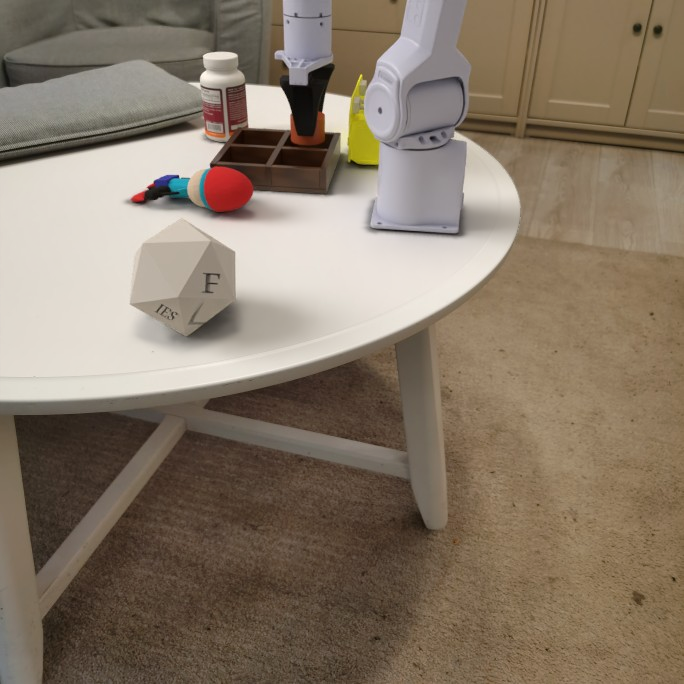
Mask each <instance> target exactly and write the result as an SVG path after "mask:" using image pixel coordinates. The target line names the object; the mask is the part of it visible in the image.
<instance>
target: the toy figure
mask: <svg viewBox="0 0 684 684" xmlns="http://www.w3.org/2000/svg"><path fill="white" fill-rule="evenodd" d="M146 189H147V190H143V191H141V192H139V193H136V194H134V195H133V196H131V198H130V201H131V202H135V203H138V202H143V201H145V200H147V201H157V200H159V199H160V198H161V199H162V198H164V197H169V198H176V199H177V198H181V199H184V198H185V199H190V201H191V202H192V203H193V204H195V205H196V206H198V207H200V208H206V209H207V210H208V209H209V210H210V211H213V212H217V213H219V212H220V213H224V212H225V213H226V212H230V211H234V210H237V209H240V208H242V207H244V206H246V204H248V203H249V201H250V200H251V199H252V197H253V194H254V190H253V185H252V183H251V181H250V180H249V179H248V178H247V177H246V176H245V175H244V174H242V173H241V172H239V171H237V170H234V169H231V168H227V167H213V168H210V167H209V168H204V169H203V168H202V169H200V170H198V171H196V172H194V173H193V174H192V176H190V177H180V174H165V175H163V176H160V177H159V178H156V179H154V180H153V182H152V183H151V184H149V185H147V186H146Z"/></svg>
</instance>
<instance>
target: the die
mask: <svg viewBox="0 0 684 684" xmlns="http://www.w3.org/2000/svg"><path fill="white" fill-rule="evenodd" d="M131 275H132V276H131V285H130V295H129V305H130V306H132V307H133V308H136V309H137V310H139V311H141V312H142V313H144V314H146V315H147V316H149V317H151V318H153V319H154V320H156V321H159V322H160V323H161V324H163V325H165V326H166V327H169V328H170V329H172V330H174V331H175V332H177V333H179V334H181V335H183V336H184V337H186V338H187V337H188V336H190V335H191V334H193V333H194V332H195V331H196V330H198V329H199V328H200V327H202V326H203V325H204V324H206V323H207V322H208V321H210V320H211V319H212V318H214V317H215V316H216V315H218V313H220V312H221V311H223V310H224V309H225V308H227V307H228V306H229V305H231V304H232V303H234V302H235V301H236V300H237V299H236V298H237V297H236V295H237V294H236V293H237V292H236V291H237V290H236V285H237V284H236V250H235V251H234V250H233V249H232V248H230V247H228V246H227V245H225V244H223V243H222V242H221V241H219V240H218V239H216V238H215V237H213V236H211V235H209V234H208V233H207V232H205V231H204V230H202V229H200V228H198V227H197V226H195V225H194V224H192V223H191V222H189V221H188V220H186V219H184V218H182V217H180V218H179V219H178V220H176V221H175V222H173V223H172V224H170V225H168V226H167V227H165V228H164V229H162V230H161V231H159V232H158V233H156V234H154V235H153V236H151V237H150V238H147V240H145V241H144V242H142V243H141V244H140V247H139V248H138V249H137V251H136V252H135V254H134V256H133V264H132V273H131Z"/></svg>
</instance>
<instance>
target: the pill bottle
mask: <svg viewBox="0 0 684 684" xmlns="http://www.w3.org/2000/svg"><path fill="white" fill-rule="evenodd" d="M202 61H203V62H202V63H203V67H204V68H205V71H203V72H202V73H201V75H200V76H199V84H200V94H201V104H202V113H203V123H204V132H205V136H206V138H208V140H211V141H213V142H219V143H226V142H227V141H228V140H229V138H230V137H231V136H232V134H233V133H234V132H235V131H236V129H237V128H238V127H242V128H250V127H249V115H248V105H247V104H248V103H247V102H248V100H247V88H246V78H245V74H244V73H243V71H241V70H239V69H238V67H239V55H238V54H237V53H235V52H230V51H212V52H208V53H205V54H203V55H202Z"/></svg>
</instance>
